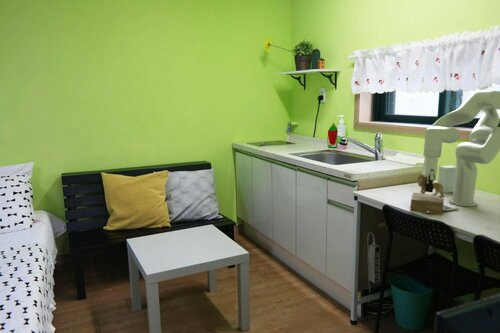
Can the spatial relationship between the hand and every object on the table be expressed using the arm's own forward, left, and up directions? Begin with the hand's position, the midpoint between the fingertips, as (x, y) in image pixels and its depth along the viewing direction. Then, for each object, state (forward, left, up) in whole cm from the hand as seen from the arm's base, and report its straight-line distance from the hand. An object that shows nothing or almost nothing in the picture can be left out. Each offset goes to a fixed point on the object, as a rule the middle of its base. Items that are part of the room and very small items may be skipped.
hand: (428, 190), depth 188 cm
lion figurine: (+1, 0, -2) cm, 2 cm away
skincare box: (-39, +15, -10) cm, 43 cm away
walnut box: (0, 0, -10) cm, 10 cm away
